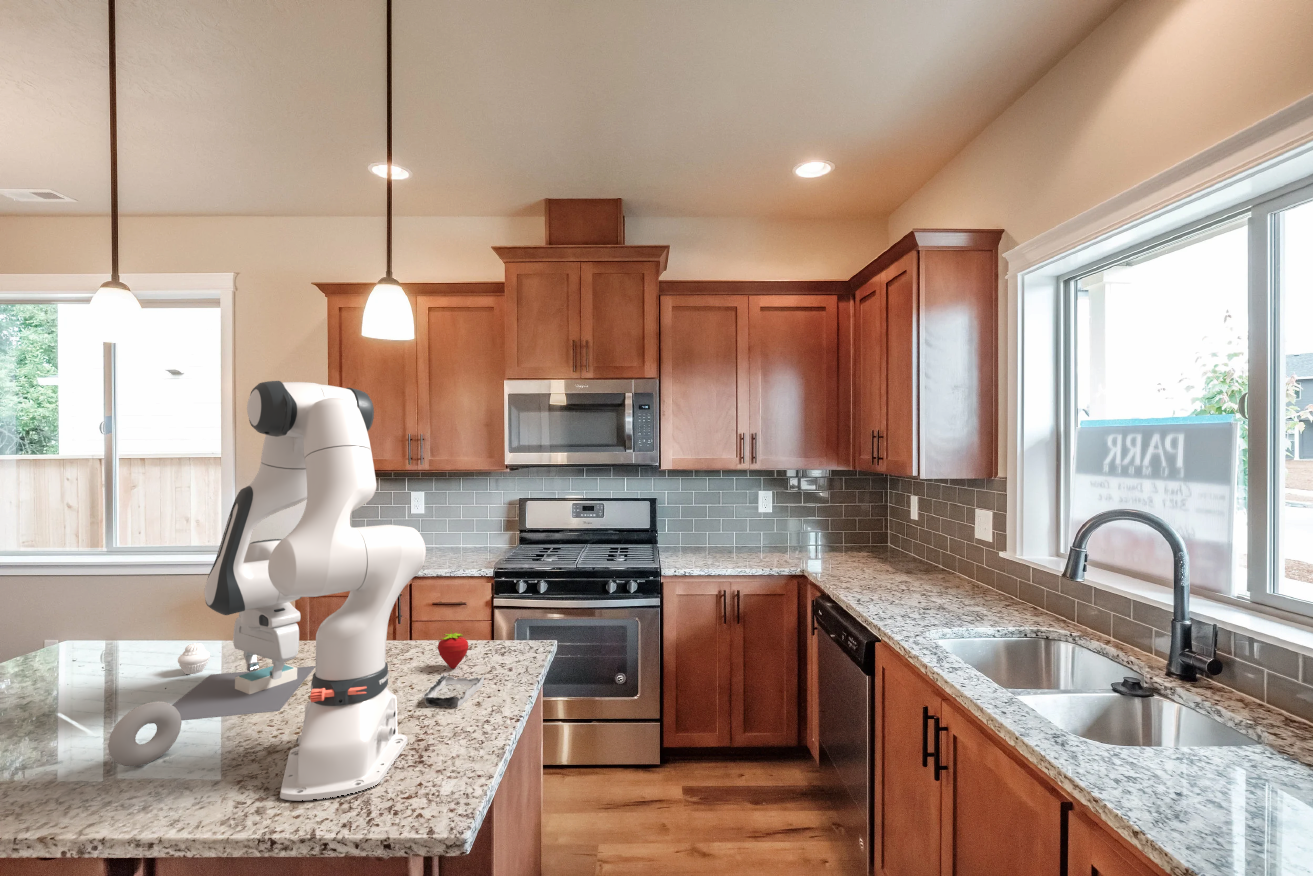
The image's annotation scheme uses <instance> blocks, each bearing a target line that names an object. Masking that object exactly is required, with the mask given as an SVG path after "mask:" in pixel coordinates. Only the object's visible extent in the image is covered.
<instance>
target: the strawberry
mask: <svg viewBox="0 0 1313 876" xmlns="http://www.w3.org/2000/svg"><path fill="white" fill-rule="evenodd" d="M444 636H445V637H442V638H441V639H440V641H438V643H437V644H438V645H437V650H438V654H439V656H440V657H441V659H442V660H443V662H445V664H447V665H448V667H449V669H453V670H454V669H456V668H457V667H458V666H459V664H460V663H461V662H462V661H463V659H464V658H465V657H466V655H467V654H468V650H469V642H468V640H467V639H466V638H465V637H464V635H463V633H458V632H455V633H453V631H452V630H450V633H445V634H444Z"/></svg>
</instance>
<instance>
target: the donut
mask: <svg viewBox="0 0 1313 876" xmlns="http://www.w3.org/2000/svg"><path fill="white" fill-rule="evenodd" d="M172 705H173V704H170V703H169V702H165V701H151V702H145V703H143V704H140V705H139V706H136V707H134V708H133V709H131V710H130V711H129V712H127V713H125V715H123V716H122V717H121V718H120V719H119V721H118V722H117V723H116V724H115V725H114V727H113V730H112V731H111V733H110V735H109V738H108V739H109V740H108V744H107V747H108V748H107V749H108V753H109V756H110V757H111V758H112V760H113V761H114V762H115V763H117V764H118V765H120V766H123V767H130V768H131V767H132V768H135V767H136V768H137V767H141V766H144V765H145V766H146V765H148V764H149V763H151V762H154V761H155V760H158V759H159V758H161V757H162V756H163V755H164V754H166V753H167V752H168V751H169V750H170V749H171V748H172V746H173V745H174V744H175V743H176V741H177V740H178V737H179V735H180V732H181V728H182V724H183V723H182V722H183V721H181V716H180V713H179V712H178V710H177V709H176V707H174V706H172ZM149 723H151V724H154V725H155V726H156V731H155V734H154V735H153V736H152V738H151V739H149V740H148V741H146V742H145V743H137V741H136V737H137V735H138V732H139V731H140V730H141V729H142V728H143V727H144V726H145V725H148V724H149Z"/></svg>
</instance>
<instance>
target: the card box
mask: <svg viewBox="0 0 1313 876" xmlns="http://www.w3.org/2000/svg"><path fill="white" fill-rule="evenodd" d="M272 669H273V665H271V666H267V667H264V668H260V669H258V670H257V671H254V672H250V673H247V674H243V675H240V676H238V677H235V689H237V690H240V691H242V692H245V693H247V694H252V693H255V692H258V691H261V690H264V689H268V688H271V687H274V686H277V685H280V684H283V683H286V682H289V681H292V680H295V679H297V668H296V666H293V665H288V664H286V663H285V665H284V667H283V669H282V677H281V678H279V679H276V680H274V679H271V678H270V671H271V670H272Z"/></svg>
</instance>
